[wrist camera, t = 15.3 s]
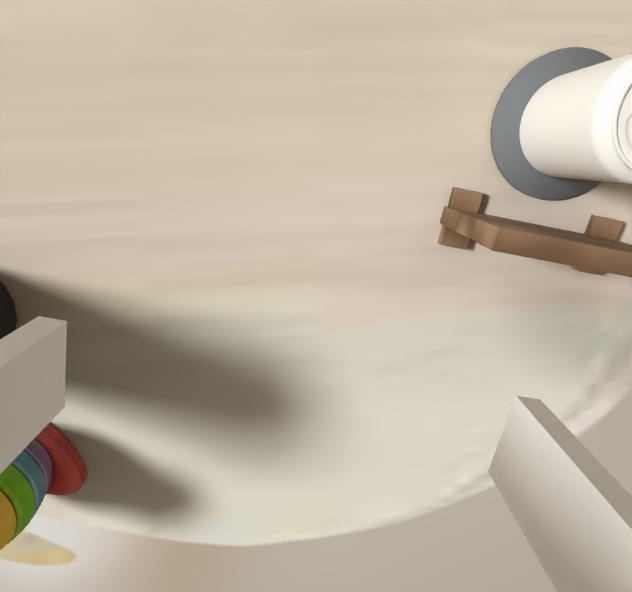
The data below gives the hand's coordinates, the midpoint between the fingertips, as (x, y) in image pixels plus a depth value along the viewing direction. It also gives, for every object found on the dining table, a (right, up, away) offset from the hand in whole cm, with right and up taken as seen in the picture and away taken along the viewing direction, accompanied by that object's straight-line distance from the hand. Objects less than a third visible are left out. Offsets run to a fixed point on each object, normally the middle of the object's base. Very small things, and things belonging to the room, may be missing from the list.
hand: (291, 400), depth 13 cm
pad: (+22, +17, +25) cm, 37 cm away
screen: (+20, +9, +28) cm, 35 cm away
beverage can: (+22, +17, +25) cm, 37 cm away
